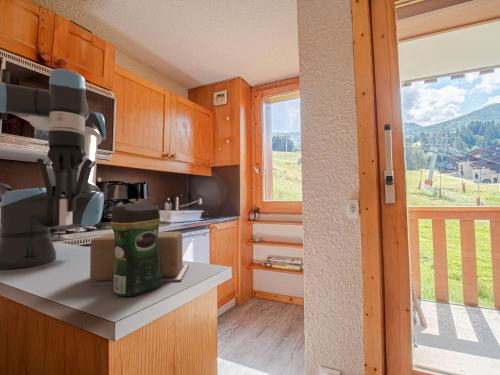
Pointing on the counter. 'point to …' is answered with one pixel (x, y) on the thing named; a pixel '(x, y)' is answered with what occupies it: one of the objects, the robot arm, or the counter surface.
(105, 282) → the gray book
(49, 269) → the counter surface
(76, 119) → the robot arm
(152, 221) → the coffee jar
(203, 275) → the counter surface
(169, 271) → the wooden block
